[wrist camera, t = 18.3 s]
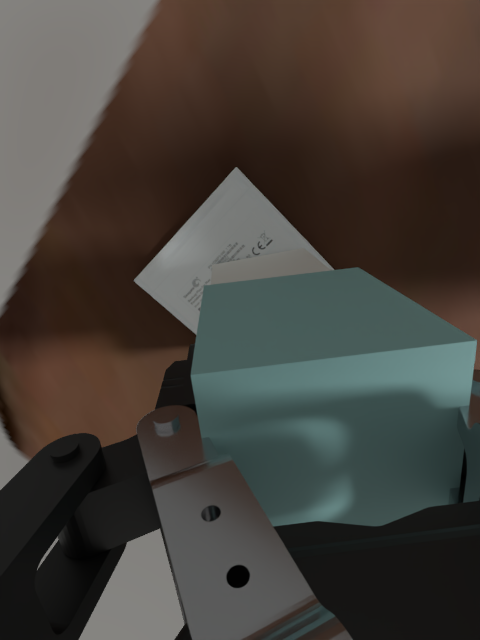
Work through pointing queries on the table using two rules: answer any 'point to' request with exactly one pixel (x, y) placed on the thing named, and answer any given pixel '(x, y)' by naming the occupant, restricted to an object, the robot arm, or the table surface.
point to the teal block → (332, 395)
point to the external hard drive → (217, 245)
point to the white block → (267, 266)
